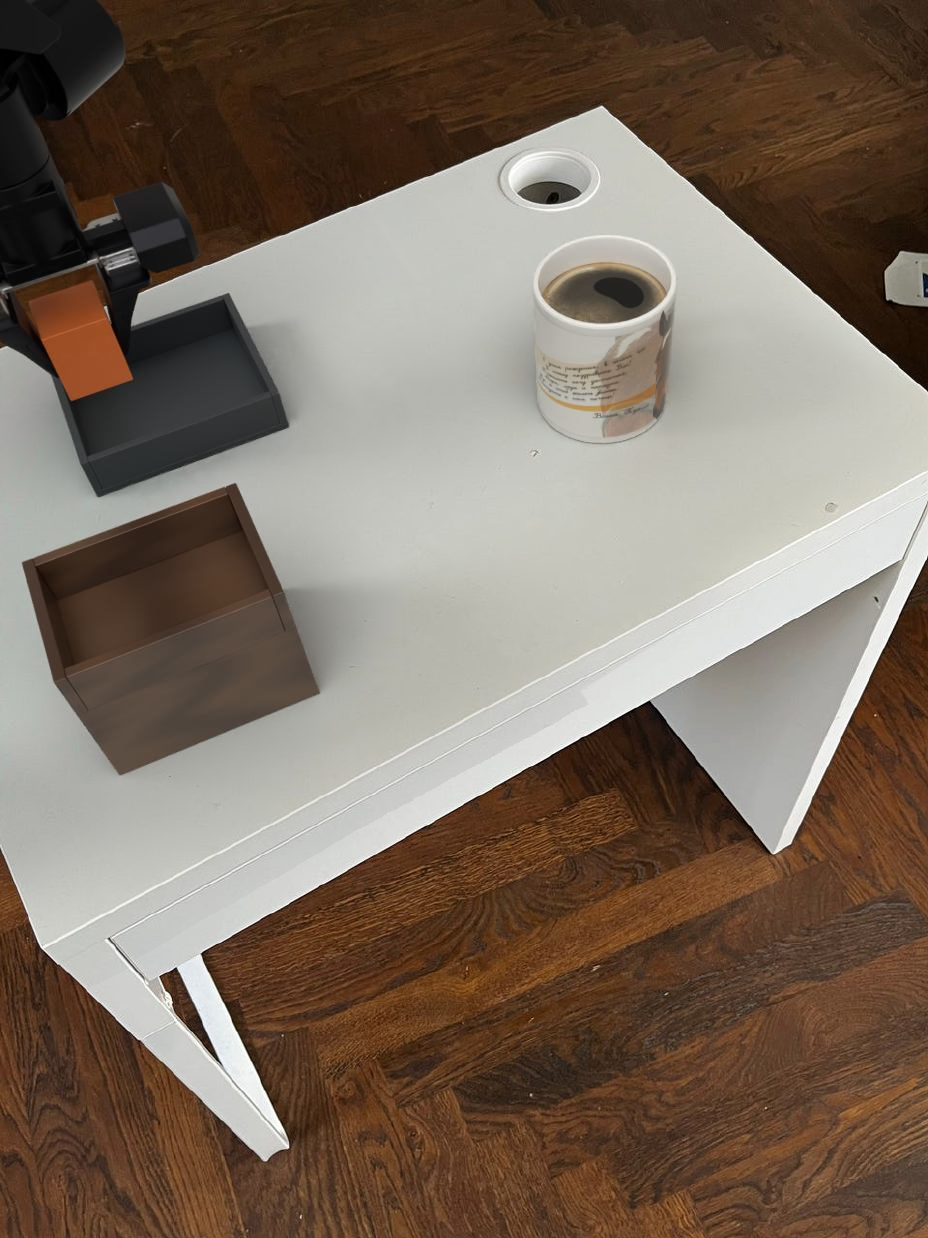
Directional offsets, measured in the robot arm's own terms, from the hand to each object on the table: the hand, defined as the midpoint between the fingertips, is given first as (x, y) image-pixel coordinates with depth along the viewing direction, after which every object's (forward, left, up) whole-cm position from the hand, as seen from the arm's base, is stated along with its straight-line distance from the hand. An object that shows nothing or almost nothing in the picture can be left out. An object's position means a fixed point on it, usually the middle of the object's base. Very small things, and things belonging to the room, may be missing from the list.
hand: (92, 362), depth 81 cm
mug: (+35, -11, -9) cm, 38 cm away
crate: (-1, -22, -9) cm, 24 cm away
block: (0, 0, -1) cm, 1 cm away
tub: (+4, +3, -9) cm, 10 cm away
